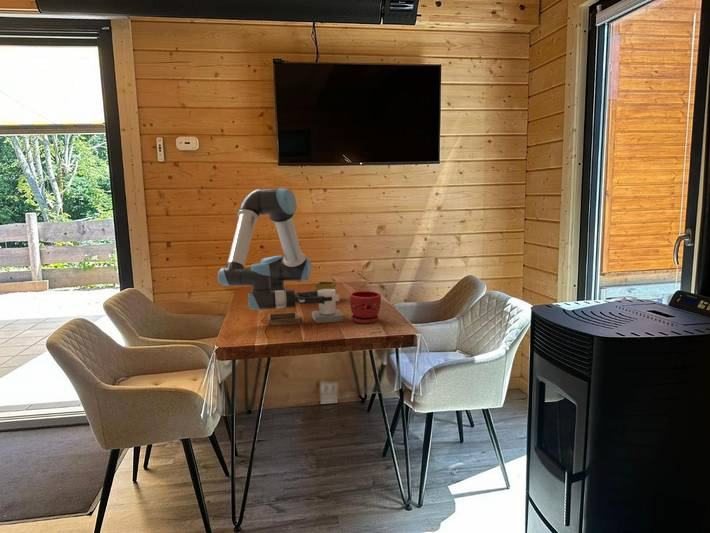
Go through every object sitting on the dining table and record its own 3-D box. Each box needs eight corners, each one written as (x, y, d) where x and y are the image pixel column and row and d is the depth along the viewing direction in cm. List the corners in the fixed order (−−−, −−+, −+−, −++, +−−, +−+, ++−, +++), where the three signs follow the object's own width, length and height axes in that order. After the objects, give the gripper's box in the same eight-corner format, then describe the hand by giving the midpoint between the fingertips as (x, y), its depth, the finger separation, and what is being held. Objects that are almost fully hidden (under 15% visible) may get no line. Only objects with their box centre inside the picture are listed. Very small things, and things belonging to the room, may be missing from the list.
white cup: (339, 311, 212) (337, 288, 211) (333, 315, 205) (331, 292, 204) (322, 310, 215) (321, 288, 213) (315, 314, 207) (314, 292, 206)
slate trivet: (312, 316, 215) (312, 311, 214) (338, 314, 217) (338, 309, 217) (315, 323, 203) (315, 317, 203) (343, 321, 206) (343, 315, 205)
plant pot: (348, 324, 199) (347, 296, 197) (352, 317, 212) (352, 290, 210) (379, 325, 197) (379, 296, 196) (382, 317, 210) (382, 290, 209)
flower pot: (315, 301, 249) (315, 284, 248) (320, 297, 257) (320, 281, 256) (331, 301, 247) (331, 284, 246) (336, 298, 255) (336, 281, 254)
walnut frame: (267, 318, 213) (267, 314, 213) (297, 316, 216) (296, 312, 215) (268, 325, 200) (268, 321, 200) (300, 323, 203) (299, 318, 203)
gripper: (283, 302, 216) (333, 299, 221) (287, 313, 195) (342, 309, 200) (283, 286, 215) (332, 283, 220) (286, 294, 194) (341, 291, 199)
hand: (337, 295), depth 210 cm, fingers open, 9 cm apart
